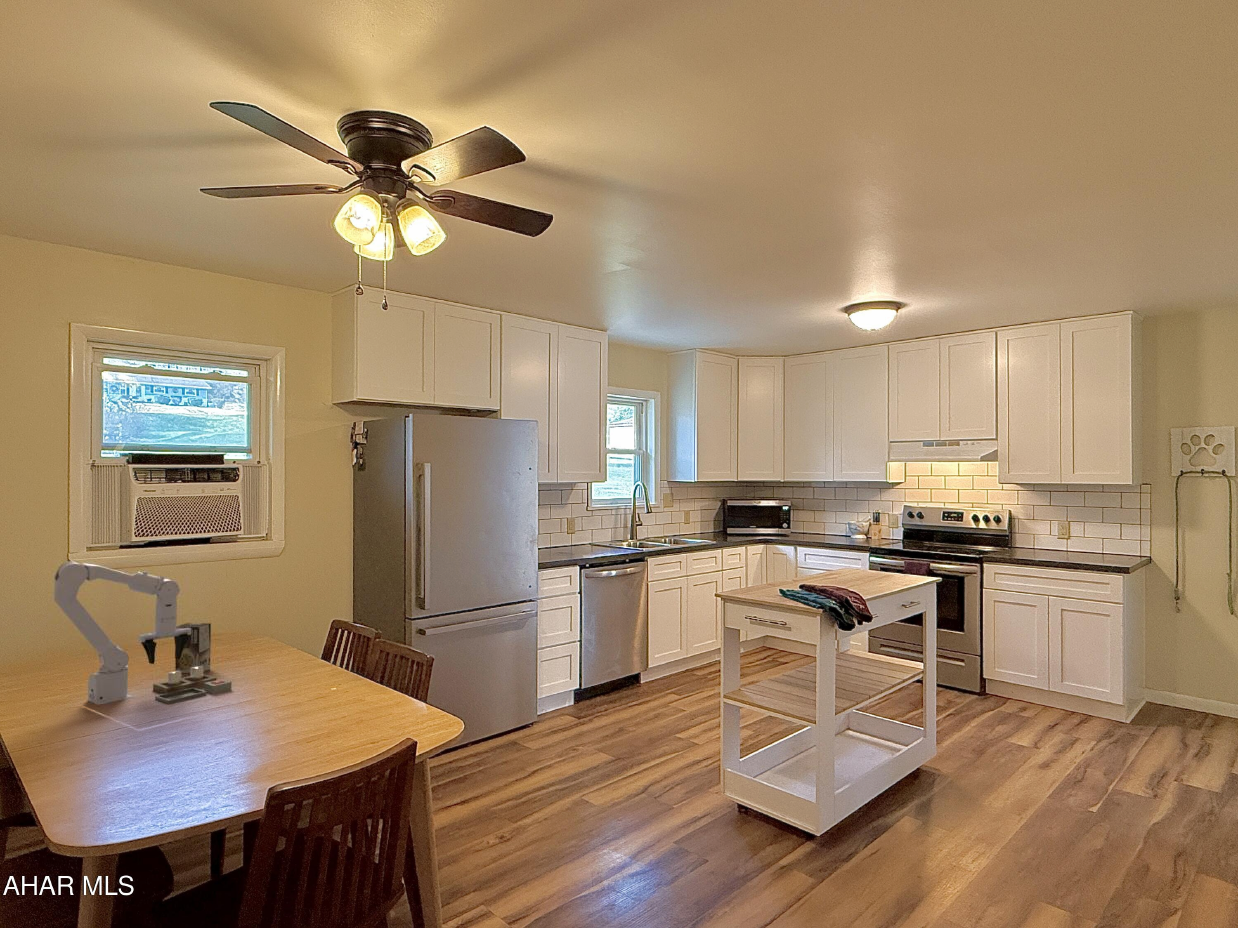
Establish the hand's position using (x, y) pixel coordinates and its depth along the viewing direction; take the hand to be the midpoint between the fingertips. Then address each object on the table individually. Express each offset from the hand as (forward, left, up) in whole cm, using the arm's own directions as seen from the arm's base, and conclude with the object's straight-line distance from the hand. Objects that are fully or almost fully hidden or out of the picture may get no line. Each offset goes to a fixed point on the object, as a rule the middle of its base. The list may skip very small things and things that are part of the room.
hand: (164, 660), depth 230 cm
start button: (+9, -15, -9) cm, 19 cm away
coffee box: (+17, +17, -10) cm, 26 cm away
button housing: (+9, -15, -9) cm, 20 cm away
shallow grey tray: (-1, -13, -9) cm, 16 cm away
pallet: (+5, -3, -9) cm, 11 cm away
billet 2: (+8, -3, -9) cm, 13 cm away
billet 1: (+1, -4, -9) cm, 10 cm away
